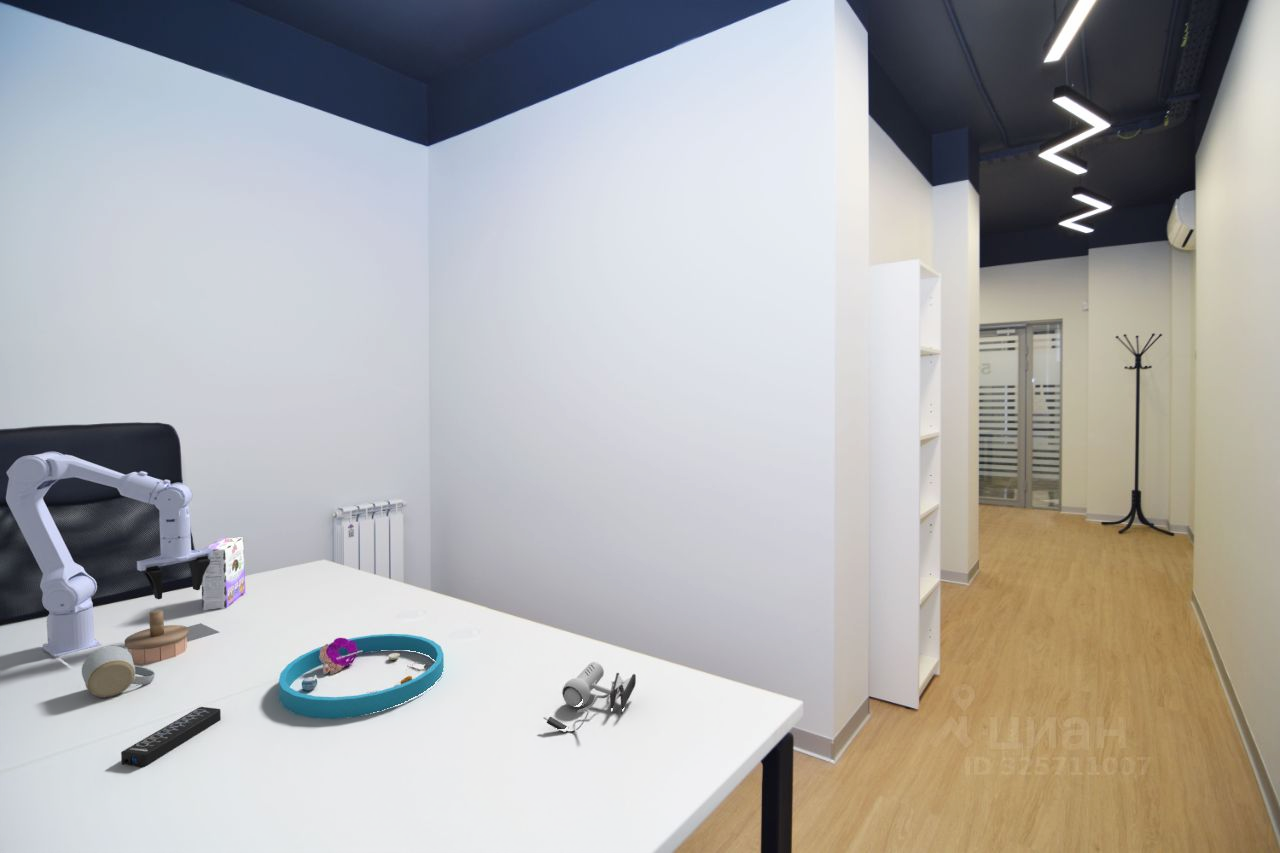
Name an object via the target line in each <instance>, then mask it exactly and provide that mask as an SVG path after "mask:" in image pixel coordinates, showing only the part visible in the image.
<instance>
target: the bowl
mask: <svg viewBox="0 0 1280 853" xmlns="http://www.w3.org/2000/svg"><path fill="white" fill-rule="evenodd" d="M187 649H188V642H187V637H185V638H184V639H182V640H180V641H178V642H175V643H172V644H169V645H166V646H162V647H157V648H151V649H141V650H135V649H128V648H126V650H127V651H128V652H129V653H130V654H131V656H132V659H133V664H142V665H143V664H144V665H145V664H152V663H158V662H162V661H166V660H169V659H174V658H176V657H177V656H179V655H182V654H183V653H185V652H186V651H187Z"/></svg>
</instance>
